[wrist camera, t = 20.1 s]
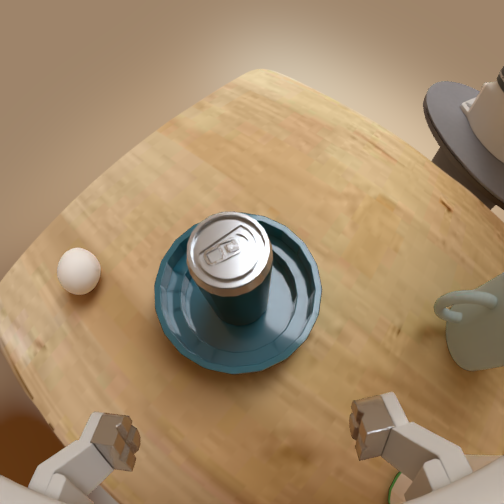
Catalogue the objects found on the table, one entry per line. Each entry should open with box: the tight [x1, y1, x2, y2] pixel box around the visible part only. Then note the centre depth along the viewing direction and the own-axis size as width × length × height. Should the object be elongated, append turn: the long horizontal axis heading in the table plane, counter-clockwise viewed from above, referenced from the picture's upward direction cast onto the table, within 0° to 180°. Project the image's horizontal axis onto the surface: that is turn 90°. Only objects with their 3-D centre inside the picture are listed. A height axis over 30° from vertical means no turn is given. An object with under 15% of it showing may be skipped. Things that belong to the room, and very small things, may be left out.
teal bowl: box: [154, 213, 322, 374], centre depth 27 cm, size 14×14×4 cm
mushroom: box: [57, 248, 101, 295], centre depth 28 cm, size 5×5×5 cm
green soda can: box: [187, 212, 273, 325], centre depth 23 cm, size 5×5×12 cm
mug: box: [434, 272, 504, 371], centre depth 23 cm, size 14×9×10 cm
